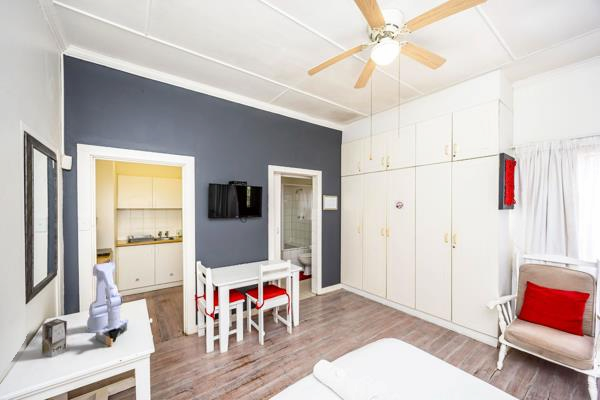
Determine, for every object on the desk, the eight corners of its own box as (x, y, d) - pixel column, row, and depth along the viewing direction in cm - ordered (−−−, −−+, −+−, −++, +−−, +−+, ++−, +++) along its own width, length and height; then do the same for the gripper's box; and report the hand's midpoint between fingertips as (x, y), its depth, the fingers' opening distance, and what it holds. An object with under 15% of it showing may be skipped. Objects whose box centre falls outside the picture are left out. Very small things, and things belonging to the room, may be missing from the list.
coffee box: (66, 350, 132) (67, 321, 132) (51, 357, 126) (52, 326, 126) (56, 347, 135) (57, 318, 135) (41, 353, 129) (41, 323, 129)
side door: (95, 338, 143) (95, 332, 143) (97, 337, 144) (97, 331, 144) (110, 346, 136) (110, 339, 136) (112, 345, 137) (112, 338, 137)
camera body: (98, 338, 144) (98, 330, 144) (111, 329, 154) (111, 321, 154) (115, 338, 144) (115, 330, 144) (128, 330, 154) (128, 322, 154)
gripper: (103, 324, 130) (102, 350, 130) (131, 313, 144) (131, 336, 143) (96, 322, 133) (95, 346, 133) (124, 311, 147) (123, 334, 146)
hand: (113, 341), depth 138 cm, fingers closed
